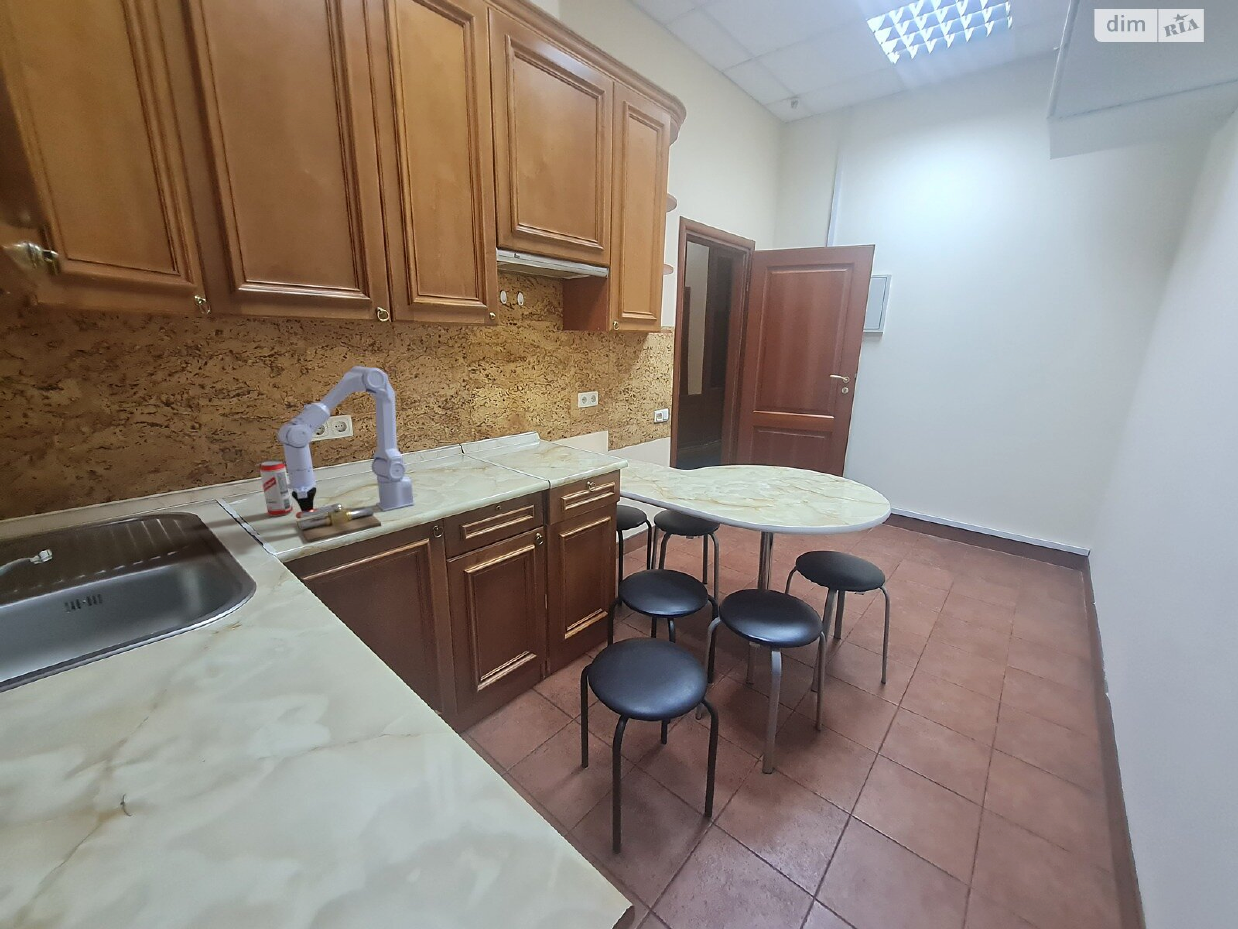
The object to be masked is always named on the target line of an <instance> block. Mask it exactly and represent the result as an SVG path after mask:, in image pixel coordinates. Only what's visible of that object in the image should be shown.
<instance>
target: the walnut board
mask: <svg viewBox="0 0 1238 929" xmlns="http://www.w3.org/2000/svg"><path fill="white" fill-rule="evenodd" d="M364 508H366V507H365V506H364V507H361V508H360V507H359V508H354V509H349V510H350V511H355V510H359V509H364ZM321 517H324V515H321V516H316V517H312V518H307V519H301V520H297V521H296V526H297V527H298V529H299V531H300V532H301V534H302V535H303V537H304V539H305V540H306V541H307V543H308V544H311V543H316V542H318V541H324V540H327V539H333V538H337V537H339V536H345V535H349V534H352V533H353V534H354V533H356V532H361V531H365V530H370V529H374V528H378V527H382V522H381V521H380V520H379V519H378V518H377V517H375V515H374V514H373V515H370V516H365V517H361V518H356V519H352V521H348V523H344V524H339V525H335V526H332V525H329V526H326V525H324V526H320V527H315V528H311V529H306V530H302V529H301V526H300V522H302V521H307V520H312V519H316V518H321Z"/></svg>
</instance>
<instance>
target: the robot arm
mask: <svg viewBox="0 0 1238 929" xmlns="http://www.w3.org/2000/svg"><path fill="white" fill-rule="evenodd" d="M363 391H365V392H366V393H367V394H369V395H370V396H372V397H373V398H374V401H375V420H376V421H375V423H376V424H375V425H376V439H377V440H376V441H377V442H376V443H377V449H376V451H375V452H374V453H373V460H372V463H371V470H372V472H373V474H374V475H376V480H377V487H378V490H377V491H378V496H379V502H376V503H375V505H376V506H377V507H378V508H380V509H381V510H382V511H383V512H386V511H391V510H395V509H396V510H397V509H401V508H405V507H409V506H413V505H415V502H414V501H415V500H414V494H413V493H414V492H413V485H412V484H413V483H412V482H411V478H410V477H409V476H405V475H406V473H407V472H406V470H407V467H406V464H405V463H404V459H403V458H404V457H403V455H402V453H401V452H400V451H399V450H398V446H397V445H398V444H397V443H398V442H397V441H398V440H397V418H396V417H397V415H396V395H395V390H394V389H393V387H392V385H391V383H390V381H389V375H388V374H386V373H385V372H384V371H383V370H381V369H380V368H378V367H366V366H362V365H356V366H353V367H352V368H351V369H349V371H347V372H346V373H344V374H343V376H342V378H341V379H340V380H339V381H338V382H337V383H336V384H335V386H334V387H332V389H331V390H329V392H328V393H327V394H326V395H325V396H324V397H323V398H322V399H321V400H320V401H319V402H312V403H310V404H305V405H304V406H303V410H302V411H301V412H300V413H299V414H298V415H297V416H296V417H294V418H291V419H290V420H289V422H290V423H287V424H286V423H285V424H283V425H282V426H281V427H280V428H279V430H278V433H277V435H276V438H277V440H278V441H279V442H280V443H282V444H283V445H282V446H283V451H284V458H285V463H286V471H287V476H288V482H289V483H288V484H287V485H285V488H286V489H289V490H291V498H293V499H294V500H295V501H296V503H297V504H298V506H299V508H300V512H301V511H306V510H311V509H314V499H315V497H316V493H317V487H316V486H317V481H316V479H315V473H314V468H313V466H314V465H313V462H312V461H313V460H312V456H311V451H310V450H311V449H310V443H311V442H312V439H313V435H314V434H315V432H317V431H318V430H319V429H320V428H321V427H322V426H323V425H324V424H325V423H326V422H327V421H328V420H329V419H330V418H331V412H332V411H333V409H334V408H335V407H336V406H338V405H339V404H340V403H341V402H342V401H343V400H345V399H346V398H347V397H349V395H351V394H352V393H357V392H363Z"/></svg>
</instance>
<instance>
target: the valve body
mask: <svg viewBox="0 0 1238 929" xmlns="http://www.w3.org/2000/svg"><path fill="white" fill-rule="evenodd" d="M363 508H364V507H363ZM358 509H359V508H358ZM350 510H351V509H349V510H346V509H345V507H343V506H342V509H341V510H337V511H331V512H327V514H324V515H323V516H324V517H321V518H316V517H315V518H316V519H312V520H307V521H302V522H300V526H301V529H302V530H306V529H311V528H315V527H320V526H324V525H326V526H329V525H332V526H335V525H339V524H344V523H348V521H352V519H356V518H361V517H365V516H370V515H373V516H374V510H373V507H372V506H370V507H365V508H364V509H359V510H355V511H350Z"/></svg>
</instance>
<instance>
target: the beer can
mask: <svg viewBox="0 0 1238 929" xmlns="http://www.w3.org/2000/svg"><path fill="white" fill-rule="evenodd" d="M260 465H261V466H260V469H259V472H260V473H259V474H260V478H261V483H262V488H263V494H264V498H265V499H264V500H265V505H266V510H267V513H268V515H270V516H272V517H283V516H286V515H289V514H291V512H292V511H293V510H294V507H293V502H292V494H291V491H290V490H291V489H286V488H285V485H287V484H289V477H288V472H287V466H286V465H285V464H284V463H283V461H282V460H267V461H263V462H261V463H260Z"/></svg>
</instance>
